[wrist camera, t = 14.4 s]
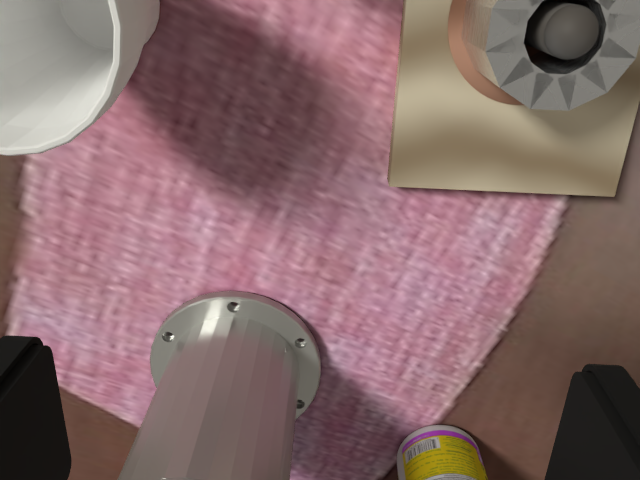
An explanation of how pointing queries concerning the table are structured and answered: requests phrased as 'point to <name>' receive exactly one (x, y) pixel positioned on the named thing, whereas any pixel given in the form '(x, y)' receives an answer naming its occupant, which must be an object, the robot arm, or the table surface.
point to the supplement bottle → (439, 455)
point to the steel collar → (544, 69)
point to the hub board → (502, 111)
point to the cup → (65, 66)
